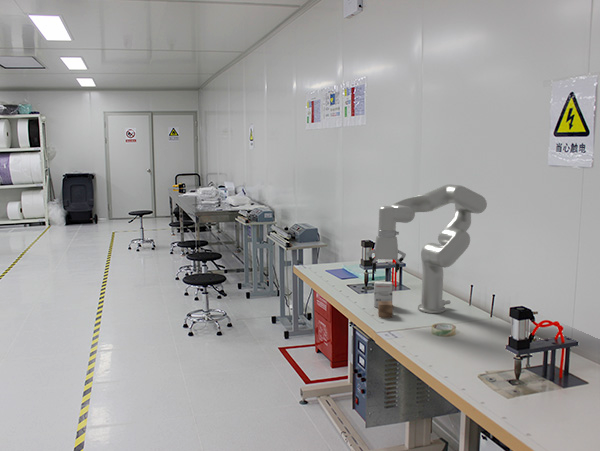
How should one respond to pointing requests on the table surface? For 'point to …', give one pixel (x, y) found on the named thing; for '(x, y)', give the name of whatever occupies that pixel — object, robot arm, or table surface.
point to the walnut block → (385, 309)
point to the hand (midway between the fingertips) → (385, 271)
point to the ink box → (382, 292)
